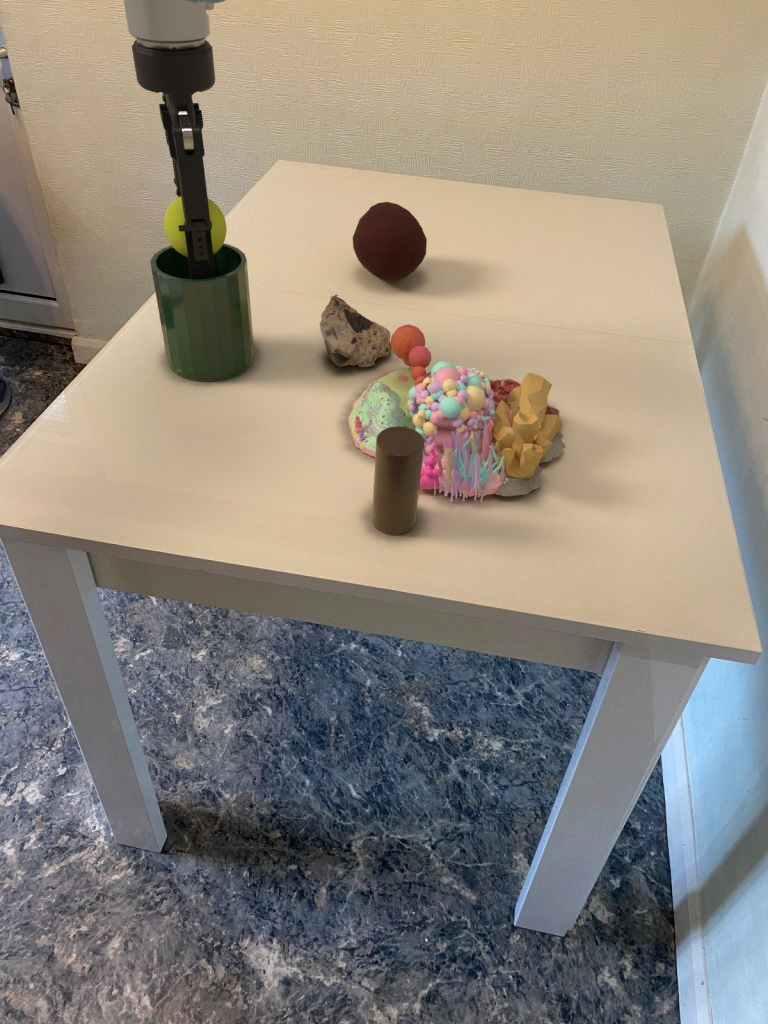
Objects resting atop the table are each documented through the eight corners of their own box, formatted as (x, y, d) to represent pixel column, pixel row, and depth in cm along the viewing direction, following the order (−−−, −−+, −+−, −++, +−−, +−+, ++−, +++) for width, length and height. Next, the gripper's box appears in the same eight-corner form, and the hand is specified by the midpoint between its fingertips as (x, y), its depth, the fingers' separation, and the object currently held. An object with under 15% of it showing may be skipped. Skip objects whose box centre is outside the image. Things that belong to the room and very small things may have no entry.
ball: (171, 271, 82) (161, 209, 77) (166, 246, 86) (157, 186, 82) (233, 266, 83) (227, 206, 79) (224, 241, 88) (219, 183, 83)
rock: (351, 317, 100) (307, 293, 92) (397, 308, 97) (355, 282, 88) (349, 380, 100) (305, 362, 91) (396, 374, 96) (353, 354, 87)
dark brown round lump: (352, 296, 108) (354, 226, 101) (350, 257, 118) (352, 191, 111) (427, 298, 109) (434, 228, 102) (419, 259, 118) (425, 193, 111)
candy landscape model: (569, 398, 91) (587, 331, 85) (555, 524, 74) (576, 453, 68) (375, 363, 95) (378, 297, 89) (319, 476, 78) (318, 404, 72)
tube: (171, 386, 89) (153, 285, 80) (164, 341, 96) (147, 244, 87) (260, 376, 91) (253, 277, 83) (246, 332, 99) (239, 237, 90)
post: (378, 538, 72) (384, 458, 65) (366, 508, 75) (370, 429, 68) (421, 531, 73) (431, 451, 66) (407, 502, 76) (415, 423, 69)
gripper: (225, 64, 64) (245, 306, 80) (200, 18, 78) (221, 233, 93) (135, 65, 62) (174, 313, 78) (126, 18, 76) (161, 237, 92)
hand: (200, 269), depth 86 cm, fingers closed on ball, 7 cm apart
